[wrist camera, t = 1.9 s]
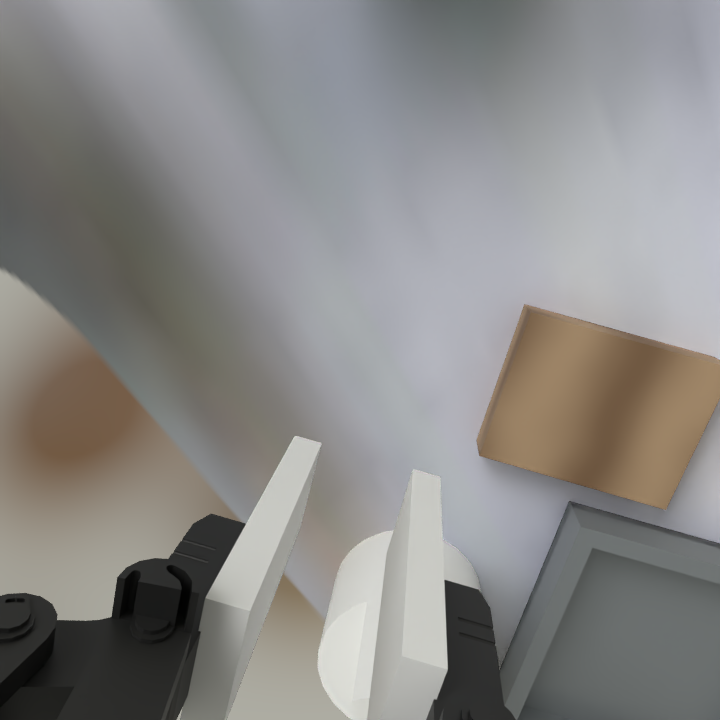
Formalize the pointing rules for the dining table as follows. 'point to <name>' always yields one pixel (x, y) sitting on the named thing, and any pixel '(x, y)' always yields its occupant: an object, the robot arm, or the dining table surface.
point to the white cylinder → (365, 620)
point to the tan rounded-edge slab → (599, 407)
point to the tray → (618, 625)
